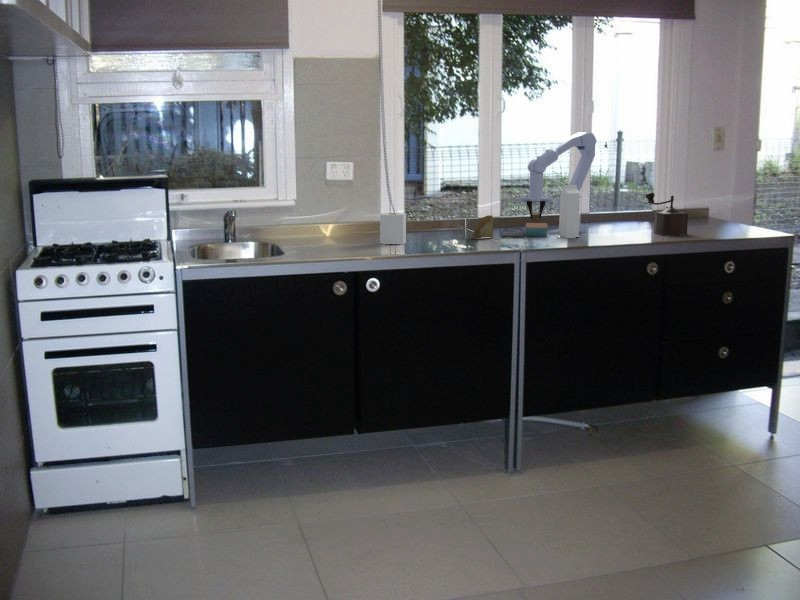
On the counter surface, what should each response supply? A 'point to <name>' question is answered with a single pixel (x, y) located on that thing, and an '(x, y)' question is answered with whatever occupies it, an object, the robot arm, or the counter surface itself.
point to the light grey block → (392, 228)
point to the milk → (569, 212)
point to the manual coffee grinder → (668, 218)
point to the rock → (484, 228)
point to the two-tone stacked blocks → (535, 217)
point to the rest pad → (513, 234)
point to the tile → (536, 229)
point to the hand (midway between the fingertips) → (535, 218)
